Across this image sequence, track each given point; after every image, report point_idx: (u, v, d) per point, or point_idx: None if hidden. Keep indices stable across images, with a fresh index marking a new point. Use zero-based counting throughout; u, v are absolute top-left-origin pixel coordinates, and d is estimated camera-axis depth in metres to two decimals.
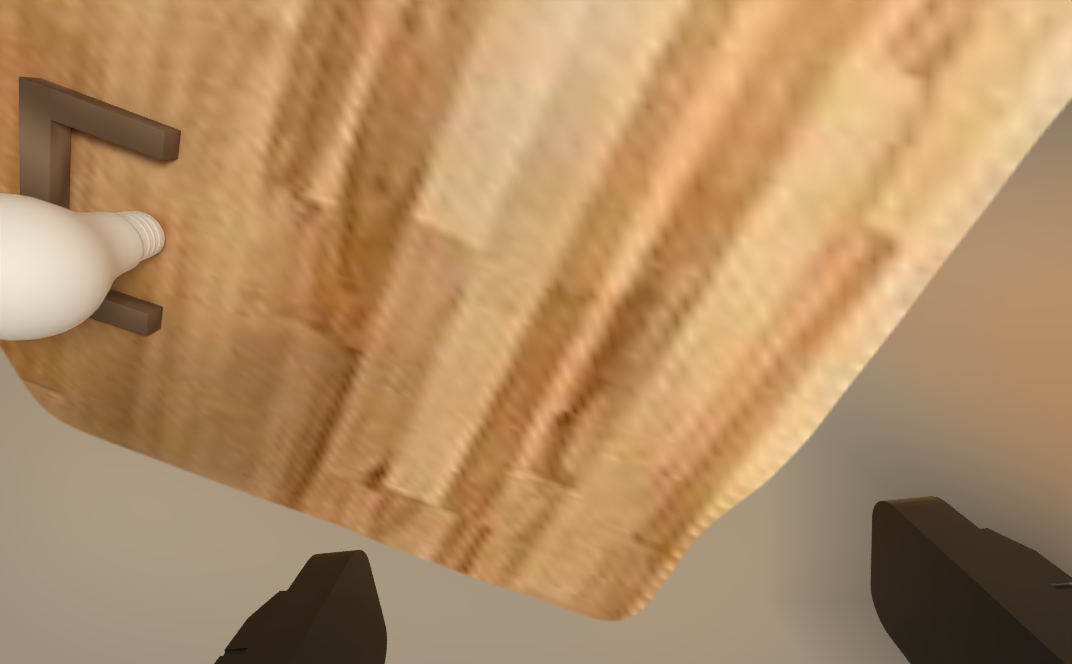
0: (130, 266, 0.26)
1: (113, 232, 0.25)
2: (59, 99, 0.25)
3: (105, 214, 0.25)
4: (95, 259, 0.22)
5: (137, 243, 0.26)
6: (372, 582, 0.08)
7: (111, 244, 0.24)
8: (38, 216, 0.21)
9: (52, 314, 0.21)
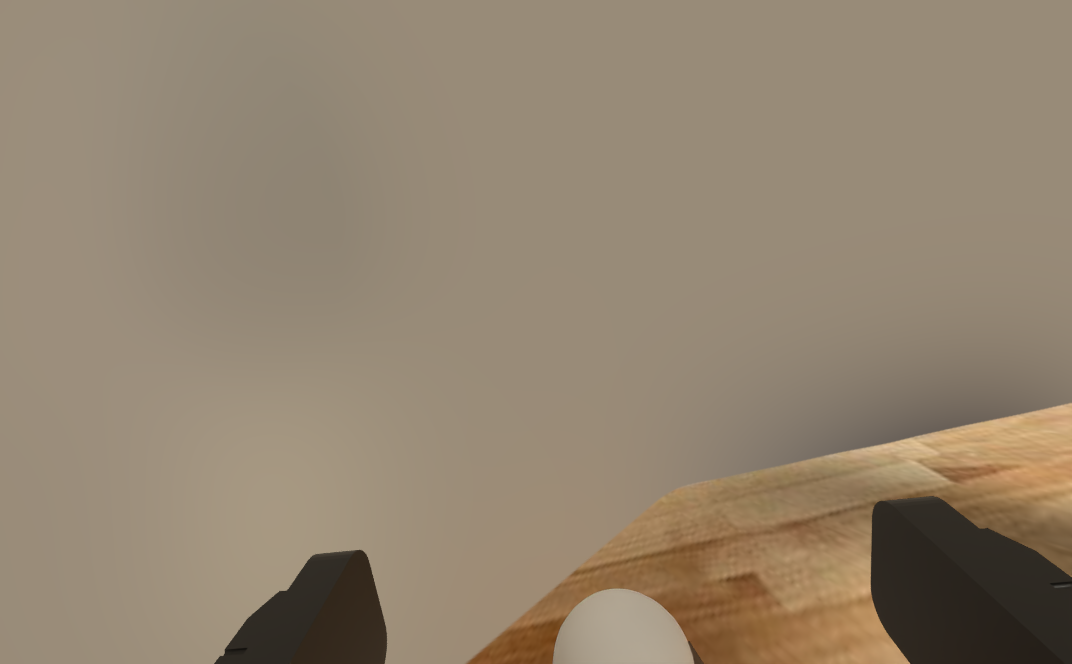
0: None
1: None
2: None
3: None
4: None
5: None
6: (372, 582, 0.08)
7: None
8: (693, 662, 0.22)
9: None
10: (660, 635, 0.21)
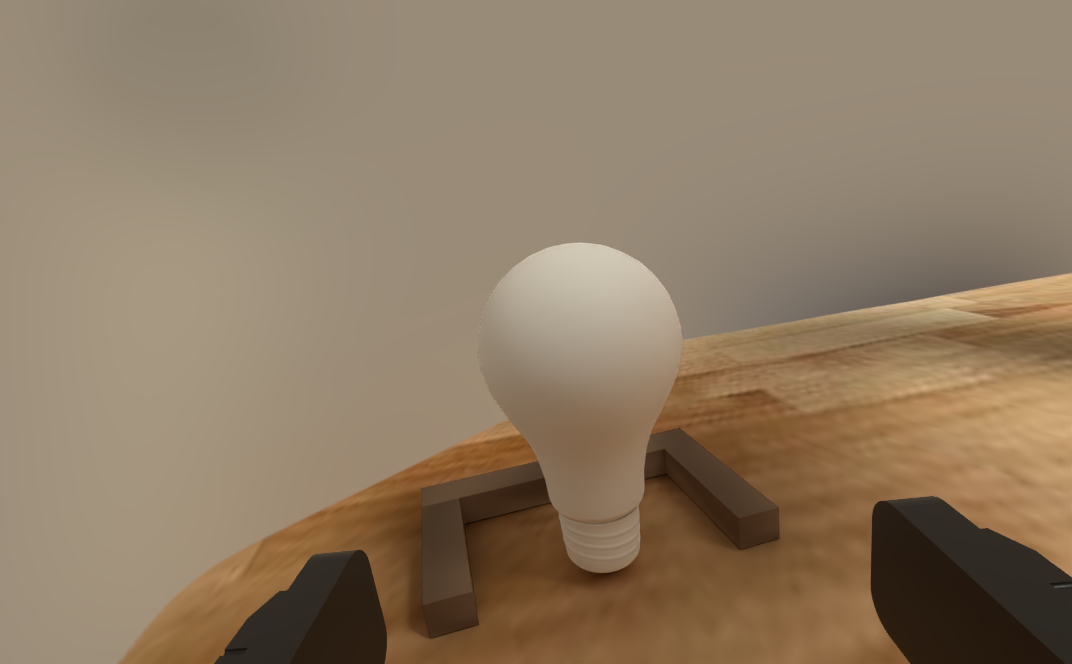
0: (589, 500, 0.15)
1: (643, 455, 0.16)
2: (692, 447, 0.22)
3: None
4: (657, 376, 0.14)
5: (628, 500, 0.16)
6: (372, 582, 0.08)
7: (642, 439, 0.15)
8: None
9: (578, 317, 0.13)
10: (629, 262, 0.14)
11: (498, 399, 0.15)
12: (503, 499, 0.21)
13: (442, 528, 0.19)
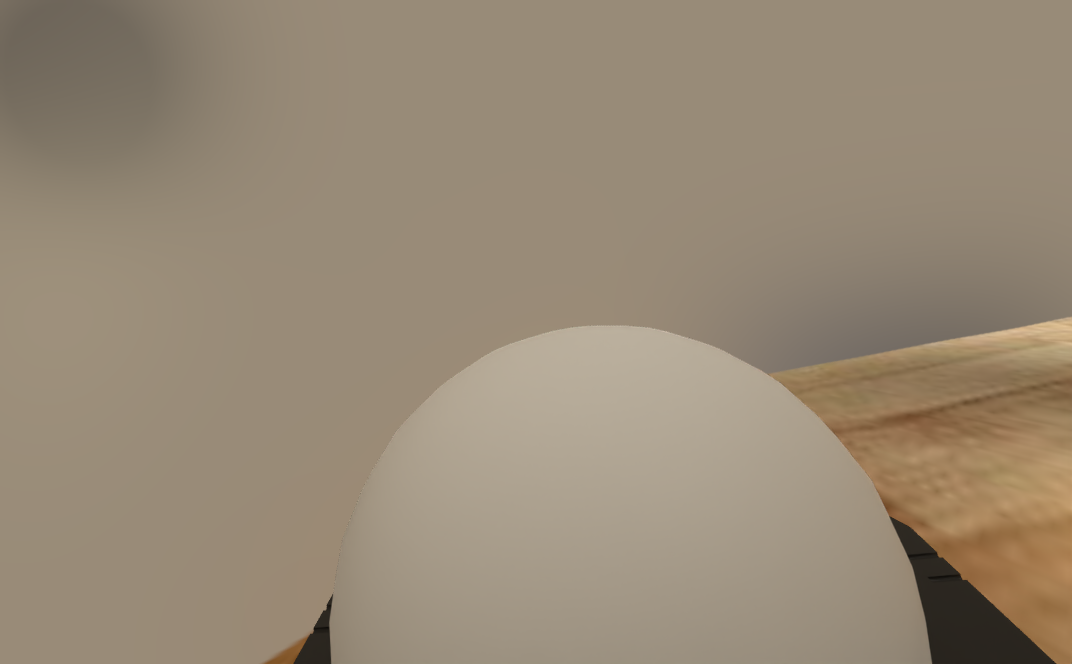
0: None
1: None
2: None
3: None
4: None
5: None
6: None
7: None
8: None
9: None
10: (772, 405, 0.05)
11: None
12: None
13: None
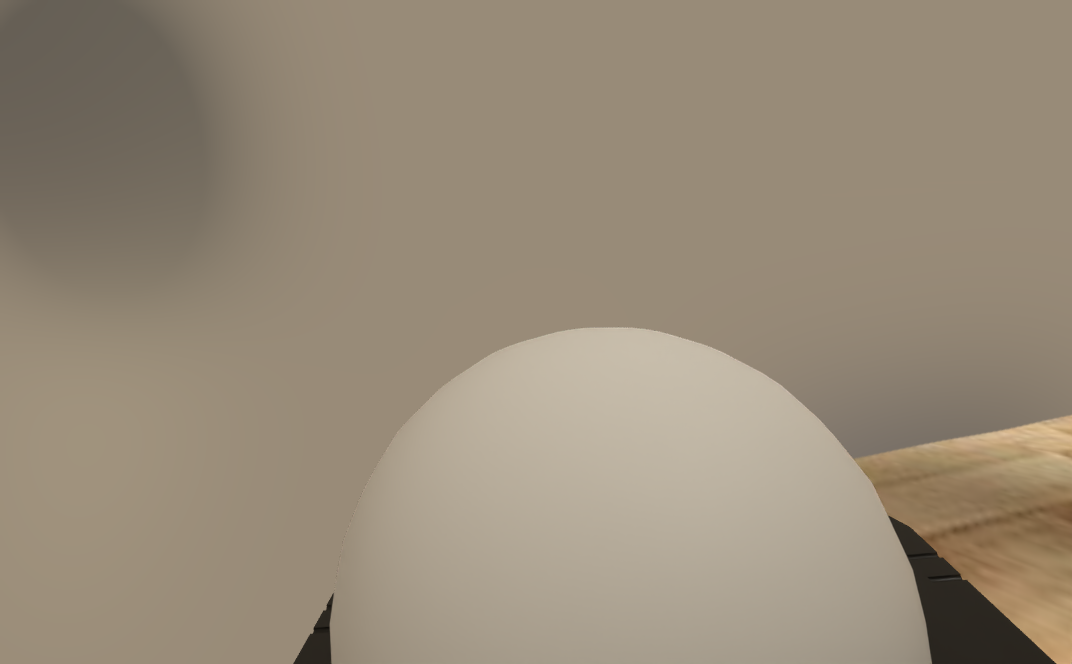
0: None
1: None
2: None
3: None
4: None
5: None
6: None
7: None
8: None
9: None
10: (772, 408, 0.05)
11: None
12: None
13: None
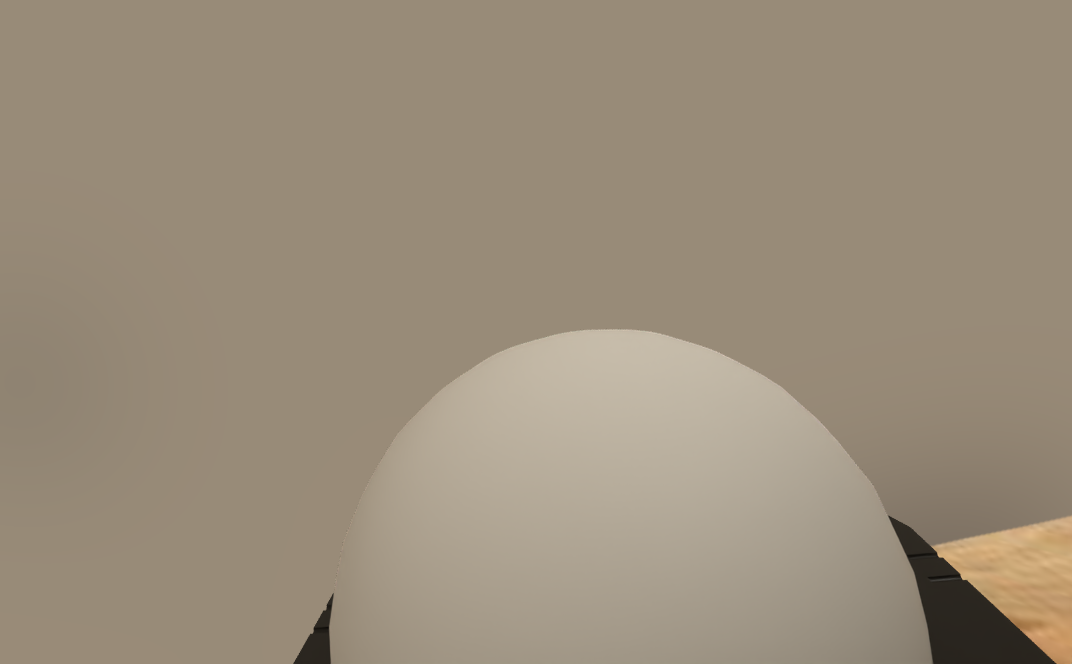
0: None
1: None
2: None
3: None
4: None
5: None
6: None
7: None
8: None
9: None
10: (773, 411, 0.05)
11: None
12: None
13: None
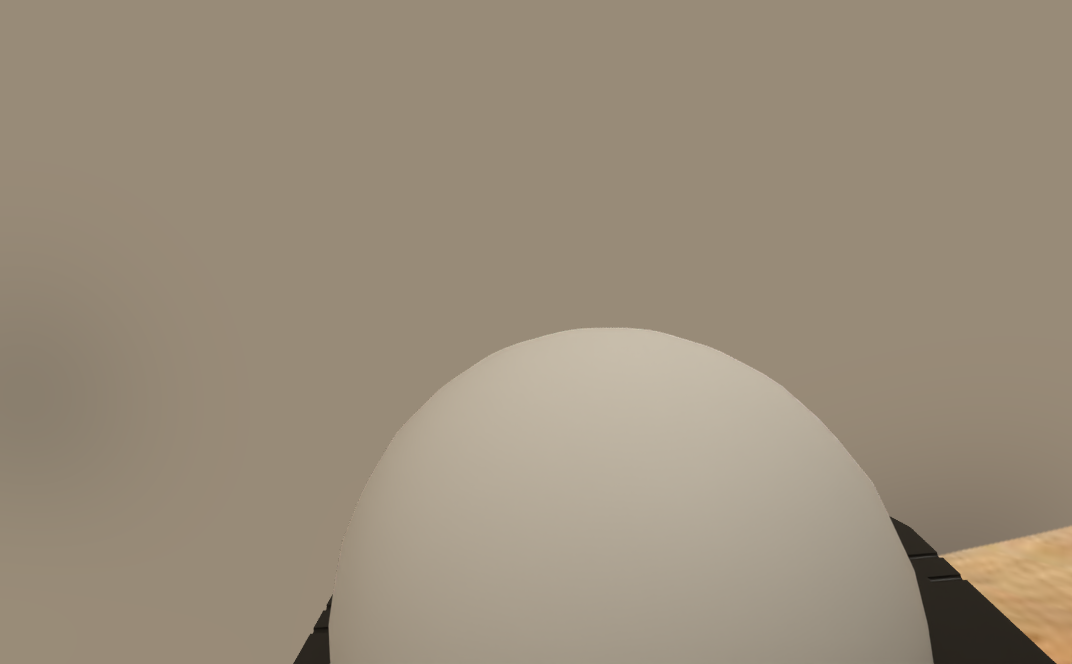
0: None
1: None
2: None
3: None
4: None
5: None
6: None
7: None
8: None
9: None
10: (773, 409, 0.05)
11: None
12: None
13: None
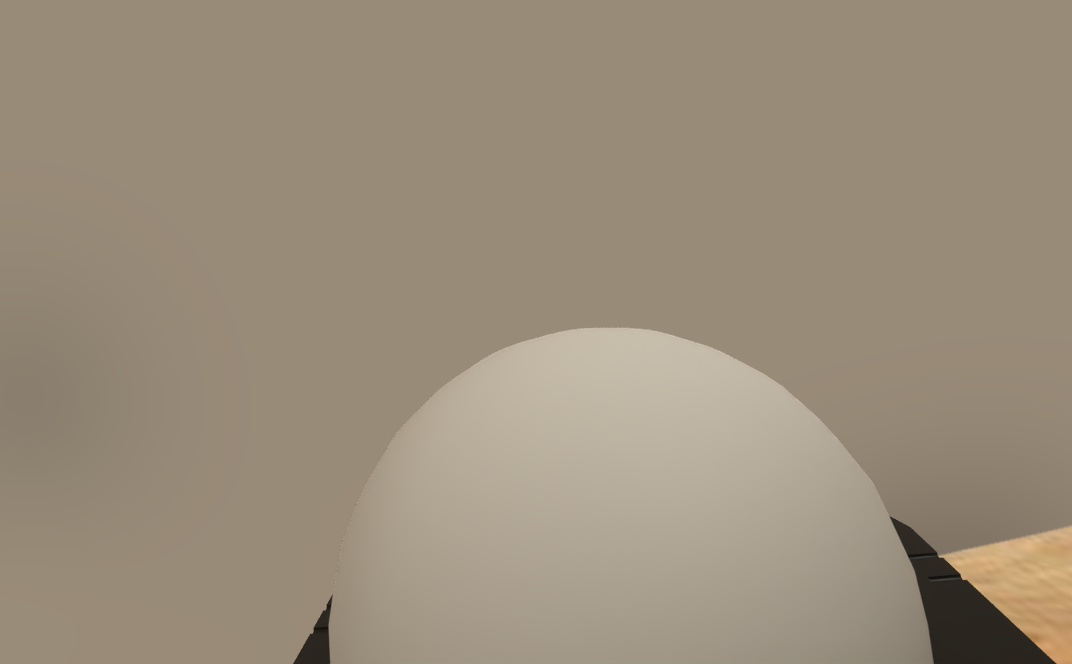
0: None
1: None
2: None
3: None
4: None
5: None
6: None
7: None
8: None
9: None
10: (773, 409, 0.05)
11: None
12: None
13: None
